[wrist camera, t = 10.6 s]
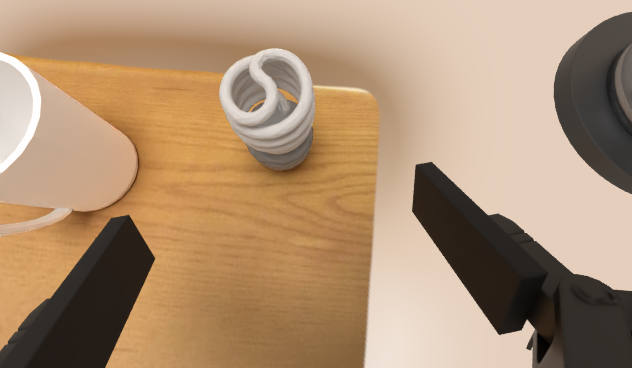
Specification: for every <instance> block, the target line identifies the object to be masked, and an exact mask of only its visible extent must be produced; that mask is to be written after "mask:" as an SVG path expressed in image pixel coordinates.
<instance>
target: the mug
mask: <svg viewBox="0 0 632 368" xmlns="http://www.w3.org/2000/svg"><path fill="white" fill-rule="evenodd" d="M137 170H138V156H137V152H136V149H135V146H134V145H133V143H132V142H131V140H130V139H129V138H128V137H127V136H126V135H124V134H123V133H122V132H120V131H119V130H117V129H116V128H115V127H113V126H112V125H110V124H109V123H107V122H106V121H105V120H103V119H102V118H100V117H99V116H98V115H96V114H95V113H93V112H92V111H90V110H89V109H88V108H86V107H85V106H83V105H82V104H80V103H79V102H78V101H76V100H75V99H73V98H72V97H70V96H69V95H68V94H66V93H65V92H63V91H62V90H60V89H59V88H58V87H56V86H55V85H53V84H52V83H50V82H49V81H48V80H46V79H45V78H43V77H42V76H40V75H39V74H38V73H36V72H35V71H33V70H32V69H30V68H29V67H28V66H26V65H25V64H23V63H22V62H21V61H19V60H17V59H16V58H14V57H11V56H9V55H6V54H4V53H1V52H0V203H8V204H17V205H27V206H36V207H45V208H55V210H54V211H53V212H51V213H49V214H48V215H46V216H43V217H40V218H38V219H35V220H31V221H26V222H21V223H11V224H1V225H0V236H6V235H13V234H19V233H25V232H29V231H33V230H36V229H40V228H43V227H47V226H50V225H52V224H54V223H57V222H59V221H61V220H63V219H64V218H65V217H66V216H68V215H69V214H70V213H71V212H72V210H73V211H82V212H89V211H96V210H100V209H102V208H105V207H107V206H110V205H111V204H113V203H114V202H116V201H117V200H119V199H120V198H121V197H122V196H123V195H124V194H125V193H126V192H127V191H128V190H129V189H130V187H131V185H132V183H133V181H134V180H135V177H136V173H137Z"/></svg>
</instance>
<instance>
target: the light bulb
mask: <svg viewBox="0 0 632 368" xmlns="http://www.w3.org/2000/svg"><path fill="white" fill-rule="evenodd" d="M277 88H280V89H283V90H285V91H287V92H289V93H290V94H292V95H293V96H294V97H295V98H296V99H297V100H298V102H299V103H298V104H296V103H295V102H293V101H290V100H286V99H285V97H284V95H283V94H282V93H281V92H280V91H279V90H278V89H277ZM219 98H220V101H221V105H222V107H223V109H224V112H225V115H226V118H227V120H228V121H229V123H230V125H231V127H232V129H233V131H234V132H235V133H236V134H237V135H238V136H239V137H240V138H241V139H242V141H244V142H245V143H246V145H247V147H248V149H249V151H250V153H251V154H252V155H253V156H254V157H255V158H256V159H257V160H258V161H259V162H260V163H261V164H263V165H264V166H265V167H268V168H271V169H273V170H287V169H292V168H293V167H295V166H297V165H299V164H300V163H302V162H303V160H304V159H305V158H306V156H307V155H308V153H309V151H310V148H311V144H312V140H313V127H312V124H313V120H314V115H315V95H314V90H313V86H312V80H311V77H310V74H309V72H308V70H307V68H306V66H305V65H304V64H303V62H302V61H301V60H300V59H299V58H298V57H297V56H296V55H294V54H293V53H291V52H289V51H287V50H283V49H277V48H273V49H267V50H263V51H260V52H258V53H257V54H256V55H252V56H248V57H246V58H243V59H241V60H240V61H238V62H236V63H235V64H234V65H233V66H231V67H230V68H229V69H228V71H227V72H226V73H225V74H224V77H223V79H222V82H221V84H220V92H219ZM264 99H266V100H265V102H263V103H261V104H259V105H257V106H256V107H254V108H253V110H252V111H251V112H248V111H249V110H250V108H251V107H252V106H253V105H254V104H256V103H257V102H259V101H261V100H264Z"/></svg>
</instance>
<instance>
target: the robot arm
mask: <svg viewBox="0 0 632 368" xmlns="http://www.w3.org/2000/svg"><path fill="white" fill-rule="evenodd" d="M606 84H607V94H608V98H609V102H610V104H611V107H612V109H613V111H614V113H615V115H616V117H617V118H618V120H619V121H620V123H621V124H622V126H623V127H624V128H625V129H626V130H627V132H628V133H629V134H630V135H631V136H632V43H631V44H629V45H628V46H626V47H625V48H623V49H622V50H621V51H620V52H619V53H618V54H617V55H616V56H615V57H614V59H613V61H612V62H611V65H610V67H609V70H608V74H607V83H606ZM414 182H415V183H414V195H413V207H412V212H413V213H414V215H415V216H416V217H417V219H418V220H419V222H420V223H421V225H422V226H423V227H424V229H425V230H426V232H427V233H428V234H429V236H430V237H431V239H432V240H433V242H434V243H435V244H436V246H437V247H438V249H439V250H440V251H441V253H442V254H443V256H444V257H445V259H446V260H447V262H448V263H449V264H450V266H451V267H452V269H453V270H454V272H455V273H456V274H457V276H458V277H459V279H460V280H461V282H462V283H463V284H464V286H465V287H466V288H467V290H468V291H469V293H470V294H471V296H472V297H473V299H474V300H475V301H476V303H477V304H478V306H479V307H480V308H481V310H482V311H483V313H484V314H485V316H486V317H487V318H488V320H489V321H490V323H491V324H492V325H493V327H494V328H495V330H496V331H497V333H498V334H499V335H501V334H506V333H511V332H515V331H520V330H522V328H523V326H524V324H525V322H526V320H528V321H529V322H530V323H531V325H532V326H533V327H534V328H535V331H534V333H533V335H532V337H531V339H530V341H529V343H528V345H527V349H528V350H531V348H532V347H533V363H532V366H533V368H632V291H623V290H613V289H612V288H610V287H609V286H607V285H605V284H604V283H602V282H601V281H599V280H596V279H594V278H591V277H588V276H584V275H578V274H573V273H572V272H570V271H569V270H568V269H567V268H566V267H565V266H564V265H562V264H561V263H560V262H559V261H558V260H557V259H556V258H555V257H553V256H552V255H551V254H550V253H549V252H548V251H546V250H545V249H544V248H543V247H542V246H541V245H540V244H539V243H537V242H536V241H534V240H533V238H532V237H530V236H529V235H528V234H527V233H524V230H522V229H521V228H520V227H519V226H518V225H517V224H516V223H514V222H513V221H512V220H510V219H508V218H506V217H504V216H502V215H500V214H493V215H487V214H486V213H485V212H484V211H483V210H482V209H480V207H479V206H477V205H476V204H475V203H474V202H473V201H472V200H471V199H470V198H469V197H468V196H467V195H466V194H465V193H464V192H463V191H462V190H461V189H459V187H457V186H456V185H455V184H454V183H453V182H452V181H451V180H450V179H449V178H448V177H447V176H446V175H445V174H444V173H443V172H442V171H440V169H438V168H437V167H436V166H435V165H434V164H433V163H432V162H429V163H424V164H417V165H416V169H415V181H414ZM154 260H155V257H154V256H153V254H152V252H151V251H150V249H149V247H148V246H147V244H146V242H145V241H144V239H143V237H142V236H141V234H140V232H139V231H138V229H137V227H136V226H135V224H134V222H133V221H132V219H131V217H130V216H129V215H126V216H121V217H115V218H111V219H110V221H109V222H108V223H107V225H106V226H105V227H104V229H103V230H102V231H101V232H100V234H99V235H98V236H97V238H96V239H95V240H94V242H93V243H92V244H91V246H90V247H89V248H88V250H87V251H86V252H85V254H84V255H83V256H82V258H81V259H80V260H79V261H78V263H77V264H76V265H75V267H74V268H73V269H72V271H71V272H70V273H69V275H68V276H67V277H66V279H65V280H64V281H63V283H62V284H61V285H60V287H59V288H58V289H57V291H56V292H55V293H54V294H53V296H52V297H51V298H50V299H46V300H45V301H44V302H43V303H42V304H40V305H39V306H38V307H37V308H36V309H35V310H33V311H32V312H31V313H30V314H29V315H28V317H27V318H26V319H25V321H24V322H23V323H22V324H21V326H20V327H19V328H18V332H15V333H14V334H13V336H12V337H11V338H10V340H9V341H8V344H7V345H5V346H4V347H3V348H2V350H1V351H0V368H105V367H106V365H107V362H108V360H109V358H110V356H111V354H112V352H113V349H114V347H115V345H116V343H117V341H118V338H119V336H120V334H121V332H122V330H123V328H124V325H125V323H126V321H127V319H128V317H129V315H130V312H131V310H132V308H133V306H134V304H135V301H136V299H137V297H138V295H139V293H140V291H141V288H142V286H143V284H144V282H145V280H146V278H147V275H148V273H149V271H150V269H151V267H152V264H153V262H154Z"/></svg>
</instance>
